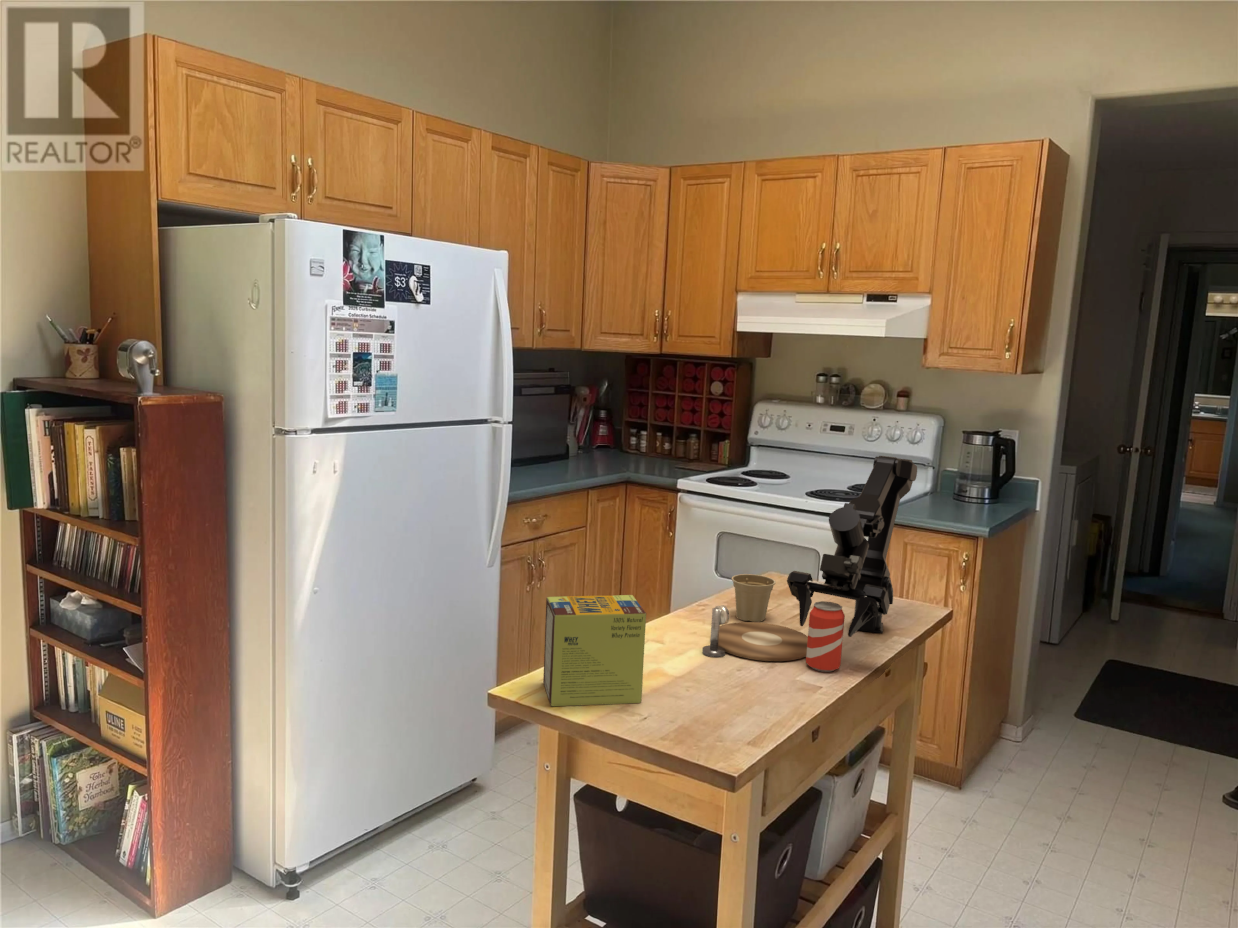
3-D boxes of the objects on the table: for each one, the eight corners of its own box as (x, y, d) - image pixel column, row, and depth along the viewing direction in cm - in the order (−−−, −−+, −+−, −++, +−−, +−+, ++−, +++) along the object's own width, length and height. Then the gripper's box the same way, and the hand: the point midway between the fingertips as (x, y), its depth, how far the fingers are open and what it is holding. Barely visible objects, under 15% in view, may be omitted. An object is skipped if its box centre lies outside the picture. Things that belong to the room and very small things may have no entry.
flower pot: (741, 608, 203) (744, 571, 202) (780, 617, 198) (783, 579, 196) (721, 618, 195) (723, 579, 194) (760, 628, 190) (763, 588, 189)
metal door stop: (710, 658, 171) (713, 611, 169) (697, 650, 175) (700, 604, 173) (729, 655, 173) (733, 608, 171) (716, 647, 177) (719, 602, 175)
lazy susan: (720, 621, 192) (720, 616, 192) (816, 634, 187) (816, 629, 187) (702, 651, 173) (702, 647, 173) (808, 667, 168) (808, 662, 168)
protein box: (642, 703, 149) (647, 612, 147) (550, 707, 146) (553, 614, 143) (628, 679, 159) (633, 593, 157) (541, 682, 156) (545, 595, 153)
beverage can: (803, 659, 172) (808, 599, 171) (837, 662, 172) (843, 601, 170) (807, 671, 166) (812, 609, 165) (842, 674, 166) (847, 611, 164)
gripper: (794, 529, 174) (768, 597, 166) (891, 545, 165) (868, 618, 157) (804, 561, 182) (780, 628, 174) (898, 578, 173) (877, 649, 165)
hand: (824, 630), depth 167 cm, fingers open, 9 cm apart
